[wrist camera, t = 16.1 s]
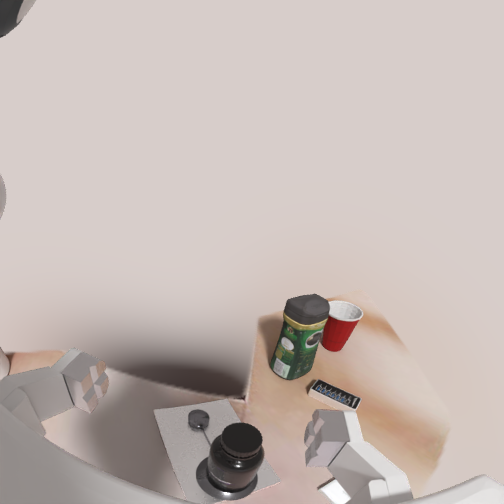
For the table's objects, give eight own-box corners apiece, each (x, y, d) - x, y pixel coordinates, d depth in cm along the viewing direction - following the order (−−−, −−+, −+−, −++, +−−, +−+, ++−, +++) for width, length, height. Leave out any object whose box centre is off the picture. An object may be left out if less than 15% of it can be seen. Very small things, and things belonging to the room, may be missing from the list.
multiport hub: (315, 385, 54) (318, 378, 53) (358, 405, 48) (362, 398, 47) (306, 396, 50) (309, 388, 50) (351, 417, 45) (356, 410, 44)
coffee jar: (292, 354, 65) (311, 287, 60) (315, 371, 59) (339, 302, 54) (263, 365, 59) (280, 293, 54) (286, 385, 53) (309, 311, 48)
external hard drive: (396, 481, 28) (348, 522, 21) (367, 457, 34) (316, 491, 28) (400, 477, 27) (352, 519, 21) (371, 452, 34) (320, 487, 27)
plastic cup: (306, 336, 74) (317, 298, 71) (338, 334, 76) (350, 299, 73) (322, 359, 64) (336, 319, 60) (356, 355, 66) (371, 317, 63)
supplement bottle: (205, 493, 25) (210, 458, 22) (205, 457, 32) (211, 413, 28) (255, 494, 26) (275, 459, 23) (251, 459, 33) (267, 416, 29)
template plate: (192, 512, 22) (192, 508, 21) (153, 412, 39) (153, 405, 39) (281, 485, 29) (285, 480, 28) (226, 401, 46) (227, 394, 45)
